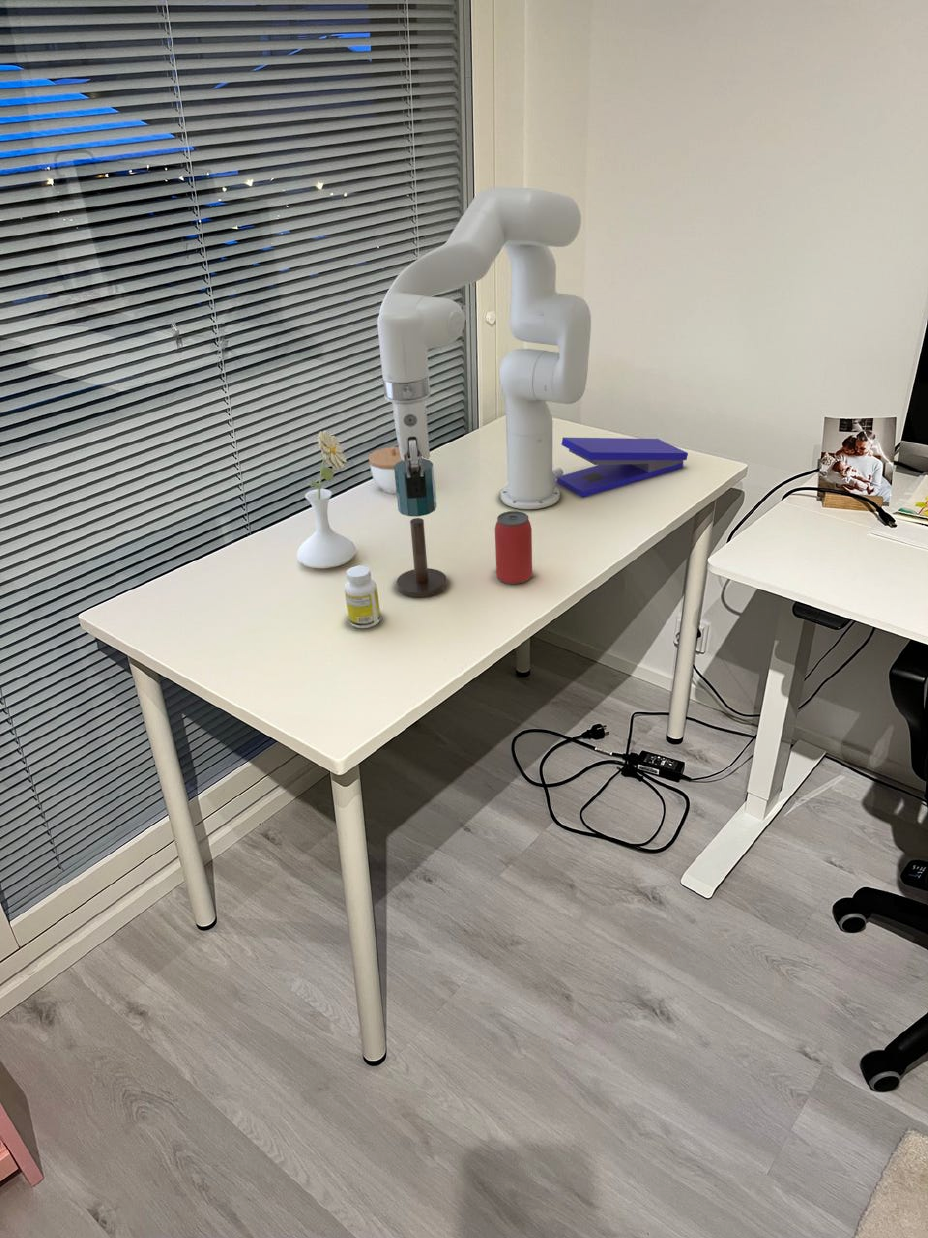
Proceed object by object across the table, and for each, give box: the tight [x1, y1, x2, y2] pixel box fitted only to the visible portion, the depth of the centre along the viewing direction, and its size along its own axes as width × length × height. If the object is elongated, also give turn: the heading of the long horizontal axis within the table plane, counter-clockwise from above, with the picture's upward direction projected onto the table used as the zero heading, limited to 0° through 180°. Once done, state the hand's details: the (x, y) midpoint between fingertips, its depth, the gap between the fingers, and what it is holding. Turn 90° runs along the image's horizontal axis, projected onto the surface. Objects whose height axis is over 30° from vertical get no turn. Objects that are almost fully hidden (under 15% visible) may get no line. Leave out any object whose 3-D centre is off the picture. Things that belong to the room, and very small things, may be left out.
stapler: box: [556, 437, 689, 498], centre depth 210 cm, size 12×28×10 cm, turn 119°
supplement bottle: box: [344, 565, 381, 629], centre depth 162 cm, size 5×5×10 cm
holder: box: [396, 517, 448, 599], centre depth 171 cm, size 9×9×13 cm
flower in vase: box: [296, 429, 357, 569], centre depth 179 cm, size 13×11×25 cm
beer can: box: [494, 510, 533, 585], centre depth 172 cm, size 7×7×12 cm
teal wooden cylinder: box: [394, 457, 437, 518], centre depth 165 cm, size 6×6×8 cm
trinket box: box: [368, 446, 408, 495], centre depth 210 cm, size 11×11×9 cm
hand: (415, 487), depth 165 cm, fingers closed on teal wooden cylinder, 6 cm apart
